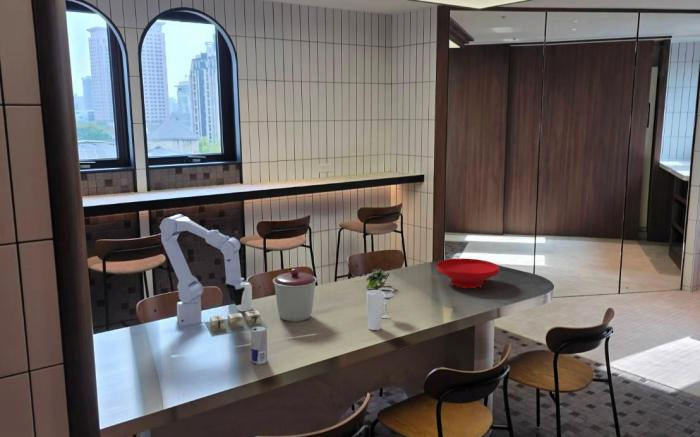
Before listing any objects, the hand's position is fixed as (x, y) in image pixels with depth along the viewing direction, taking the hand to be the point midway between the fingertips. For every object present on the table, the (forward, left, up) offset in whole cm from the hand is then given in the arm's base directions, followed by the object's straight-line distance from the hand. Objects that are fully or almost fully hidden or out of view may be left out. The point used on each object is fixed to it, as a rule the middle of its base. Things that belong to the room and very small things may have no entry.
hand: (236, 302), depth 223 cm
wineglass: (+60, -14, -10) cm, 62 cm away
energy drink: (0, -36, -10) cm, 38 cm away
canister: (+25, 0, -10) cm, 26 cm away
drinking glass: (+50, -24, -10) cm, 56 cm away
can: (+8, +18, -10) cm, 22 cm away
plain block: (0, 0, -9) cm, 9 cm away
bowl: (+120, +12, -10) cm, 121 cm away
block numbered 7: (+7, 0, -9) cm, 11 cm away
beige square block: (-7, 0, -9) cm, 12 cm away
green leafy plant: (+76, +24, -10) cm, 80 cm away
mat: (0, 0, -10) cm, 10 cm away
